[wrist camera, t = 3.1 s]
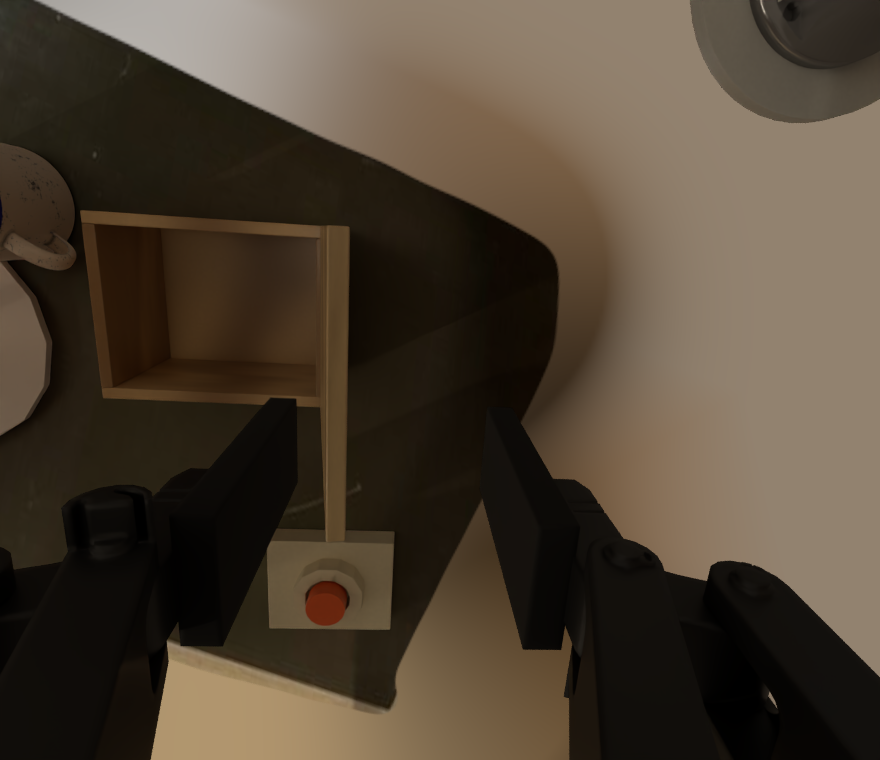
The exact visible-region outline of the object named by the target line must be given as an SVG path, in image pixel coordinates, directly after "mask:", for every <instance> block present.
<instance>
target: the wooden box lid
mask: <svg viewBox="0 0 880 760" xmlns="http://www.w3.org/2000/svg"><path fill="white" fill-rule="evenodd" d="M349 262H350V228H349V227H348V226H334V225H326V226H321V227H320V412H321V437H322V461H323V485H324V509H325V533H326V541H327V542H336V541H344V540H345V531H346V464H347V396H348V329H349Z"/></svg>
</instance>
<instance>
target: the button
mask: <svg viewBox="0 0 880 760" xmlns="http://www.w3.org/2000/svg"><path fill="white" fill-rule="evenodd" d="M346 602H347V593H346V591H345V589H344V588H343V587H342V586H341V585H340V584H338V583H336V582H332V581H323V582H320V583H318V584H316V585H315V586H314V587H313V588H312V589H311V590H310V593H309V596H308V600H307V603H306V608H305V610H306V614H307V616H308V618H309V619H310V620H311V621H312V622H313V623H315V624H318V625H321V626H330V625H333V624H336V623H337V622H339V621H340V620H341V619H342V618H343V616H344V613H345V608H346Z"/></svg>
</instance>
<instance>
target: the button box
mask: <svg viewBox="0 0 880 760" xmlns="http://www.w3.org/2000/svg"><path fill="white" fill-rule="evenodd" d="M394 534H395V532H394V531H356V530H346V531H345V540H344V541H336V542H327V541H326V533H325V530H317V529H278V528H276V531H275V533H274V535H273V537H272V539H271V542H270V544H269V546H268V548H267V568H268V598H269V628H287V629H366V630H390V623H391V602H392V579H393V557H394ZM323 581H332V582H336V583H338V584H340V585H341V586H342V587H343V588H344V589H345V591H346V593H347V602H346V608H345V613H344V616H343V618H342V619H341V620H340V621H339V622H337V623H336V624H333V625H330V626H321V625H318V624H315V623H313V622H312V621H311V620H310V619H309V618H308V616H307V614H306V610H305V608H306V603H307V600H308V596H309V593H310V590H311V589H312V588H313V587H314V586H315V585H316V584H318V583H320V582H323Z"/></svg>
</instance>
